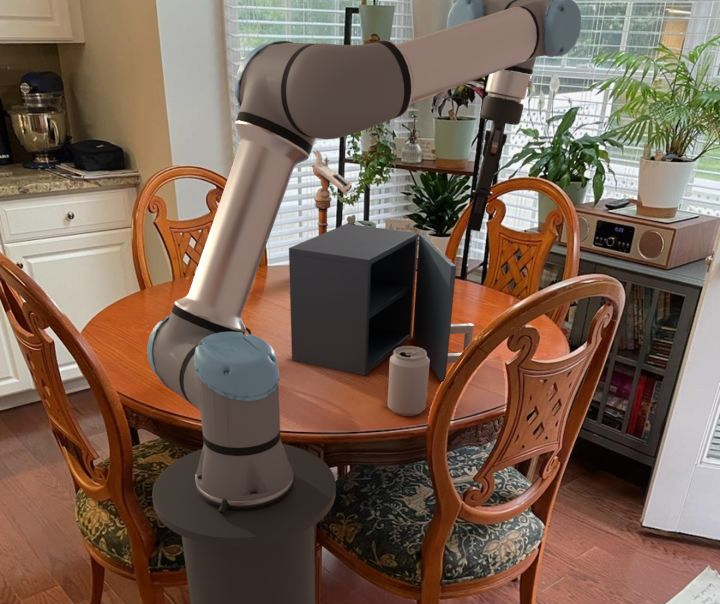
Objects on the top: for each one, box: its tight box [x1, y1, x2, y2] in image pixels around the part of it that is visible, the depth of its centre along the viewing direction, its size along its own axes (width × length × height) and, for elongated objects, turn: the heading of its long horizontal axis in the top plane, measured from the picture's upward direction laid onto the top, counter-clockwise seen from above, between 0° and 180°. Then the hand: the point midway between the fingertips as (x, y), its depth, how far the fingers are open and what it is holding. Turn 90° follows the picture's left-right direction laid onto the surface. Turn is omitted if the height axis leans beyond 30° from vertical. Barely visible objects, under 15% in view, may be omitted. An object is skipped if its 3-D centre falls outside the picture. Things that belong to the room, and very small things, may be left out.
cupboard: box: [288, 223, 419, 377], centre depth 158 cm, size 18×26×24 cm
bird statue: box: [311, 149, 354, 236], centre depth 206 cm, size 17×13×35 cm
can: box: [387, 345, 430, 417], centre depth 135 cm, size 8×8×12 cm
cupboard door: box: [412, 233, 474, 383], centre depth 155 cm, size 7×26×24 cm, turn 9°
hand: (473, 229), depth 142 cm, fingers closed
